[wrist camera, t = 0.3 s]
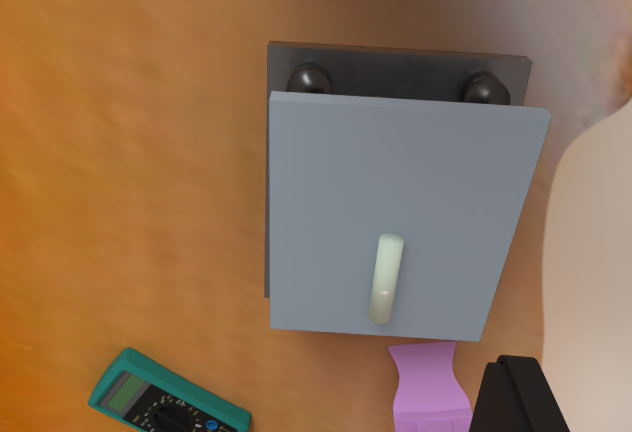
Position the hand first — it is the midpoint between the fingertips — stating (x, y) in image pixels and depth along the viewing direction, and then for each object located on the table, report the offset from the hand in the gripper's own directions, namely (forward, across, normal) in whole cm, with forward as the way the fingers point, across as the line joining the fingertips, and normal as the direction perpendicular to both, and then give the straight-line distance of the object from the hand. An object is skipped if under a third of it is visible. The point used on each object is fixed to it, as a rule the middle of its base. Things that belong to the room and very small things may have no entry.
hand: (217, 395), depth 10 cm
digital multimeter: (+36, +11, +36) cm, 52 cm away
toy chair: (+35, -13, +30) cm, 48 cm away
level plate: (+28, -6, +10) cm, 30 cm away
